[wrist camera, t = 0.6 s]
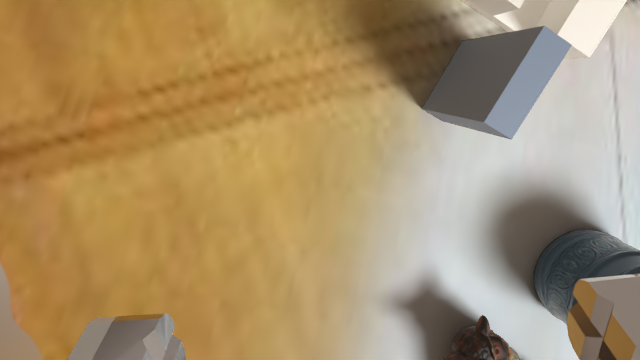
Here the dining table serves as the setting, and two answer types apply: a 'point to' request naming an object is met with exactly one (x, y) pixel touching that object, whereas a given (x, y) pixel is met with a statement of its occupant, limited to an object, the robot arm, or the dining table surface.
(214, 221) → the dining table surface
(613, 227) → the dining table surface
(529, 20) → the book stand
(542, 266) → the canister
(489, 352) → the bookend
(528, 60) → the slim book
